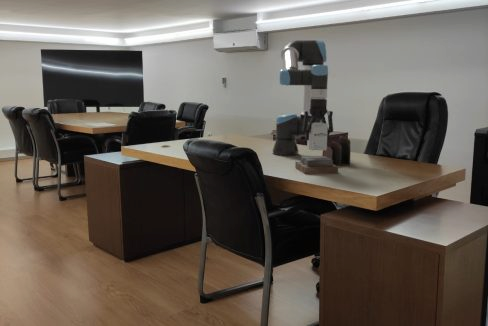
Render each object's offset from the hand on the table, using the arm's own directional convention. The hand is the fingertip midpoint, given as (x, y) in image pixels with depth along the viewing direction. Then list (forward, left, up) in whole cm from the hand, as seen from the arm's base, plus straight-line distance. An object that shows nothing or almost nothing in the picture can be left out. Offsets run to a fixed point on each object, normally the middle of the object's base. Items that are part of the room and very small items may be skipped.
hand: (316, 147), depth 226 cm
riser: (0, 0, -11) cm, 11 cm away
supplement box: (0, 0, -1) cm, 1 cm away
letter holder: (-20, +18, -12) cm, 29 cm away
